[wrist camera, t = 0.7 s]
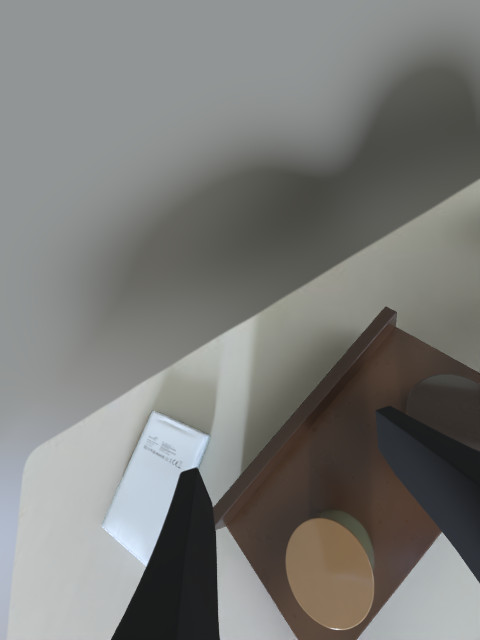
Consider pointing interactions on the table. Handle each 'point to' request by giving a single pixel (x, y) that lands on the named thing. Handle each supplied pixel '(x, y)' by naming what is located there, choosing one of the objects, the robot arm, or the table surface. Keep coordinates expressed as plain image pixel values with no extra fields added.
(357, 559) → the sage jar
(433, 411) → the ochre jar
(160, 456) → the hard drive
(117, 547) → the table surface
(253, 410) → the table surface
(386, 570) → the spice shelf
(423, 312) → the table surface
